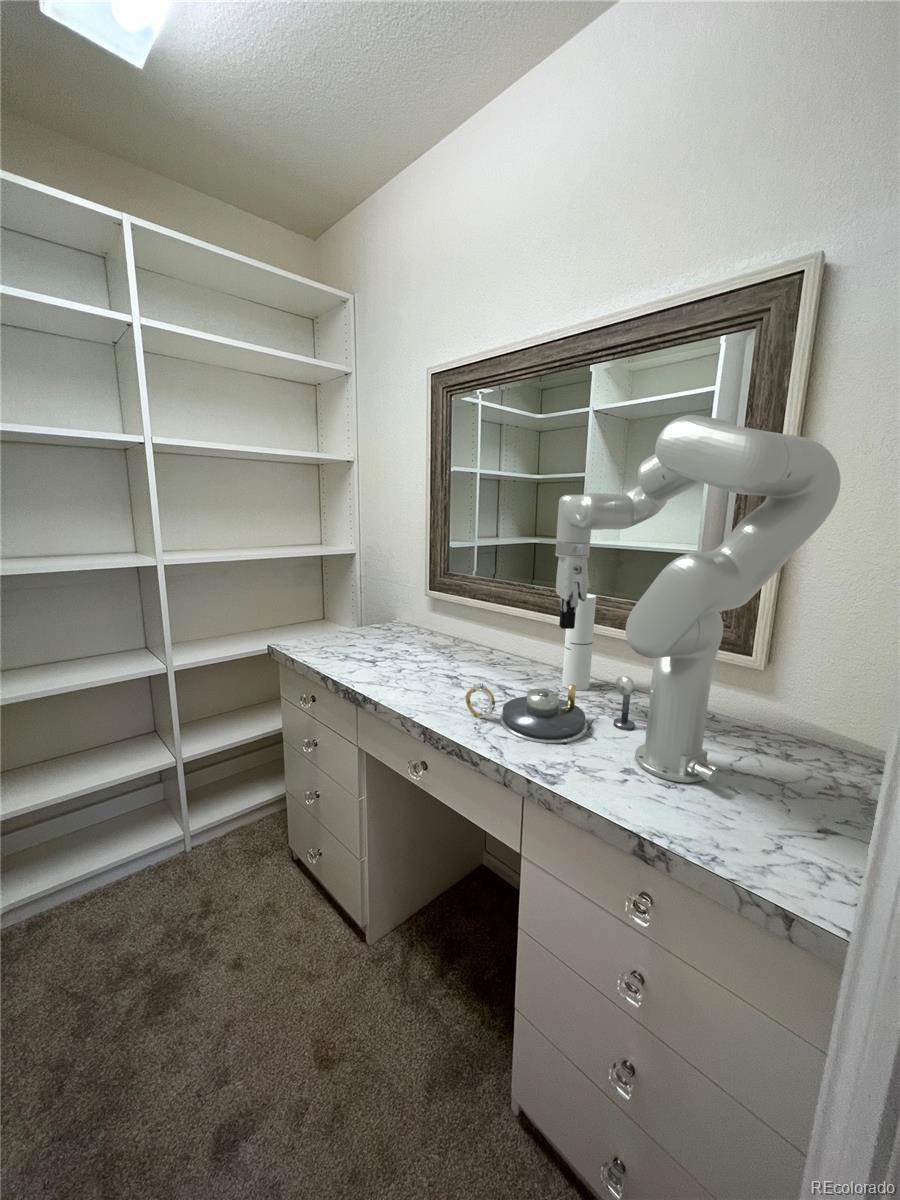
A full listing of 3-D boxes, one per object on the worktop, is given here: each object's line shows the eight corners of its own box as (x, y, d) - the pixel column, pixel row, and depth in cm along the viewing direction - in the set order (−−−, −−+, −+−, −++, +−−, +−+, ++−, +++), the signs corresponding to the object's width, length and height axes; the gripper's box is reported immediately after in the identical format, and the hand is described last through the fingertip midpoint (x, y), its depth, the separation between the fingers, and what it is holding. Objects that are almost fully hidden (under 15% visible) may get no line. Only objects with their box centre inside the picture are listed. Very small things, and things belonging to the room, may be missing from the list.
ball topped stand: (639, 728, 103) (643, 678, 101) (623, 731, 101) (628, 681, 99) (624, 720, 107) (628, 672, 105) (609, 723, 105) (613, 674, 103)
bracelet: (463, 715, 108) (463, 682, 106) (471, 711, 110) (472, 678, 109) (488, 724, 103) (489, 690, 102) (496, 719, 106) (497, 686, 105)
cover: (565, 715, 103) (566, 696, 102) (538, 720, 100) (539, 701, 99) (545, 703, 109) (546, 685, 108) (520, 708, 106) (521, 689, 105)
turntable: (602, 730, 100) (605, 699, 99) (531, 745, 93) (533, 712, 92) (551, 699, 116) (553, 672, 115) (488, 710, 109) (489, 682, 108)
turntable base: (605, 733, 100) (606, 732, 100) (530, 750, 92) (530, 748, 92) (552, 701, 117) (552, 699, 117) (485, 712, 109) (485, 711, 109)
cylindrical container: (583, 692, 123) (590, 598, 118) (557, 686, 127) (563, 595, 123) (593, 684, 129) (600, 595, 124) (568, 679, 133) (574, 592, 128)
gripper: (599, 553, 100) (592, 636, 104) (579, 547, 115) (573, 620, 118) (564, 552, 100) (559, 636, 103) (548, 547, 114) (543, 620, 118)
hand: (566, 627), depth 111 cm, fingers closed
